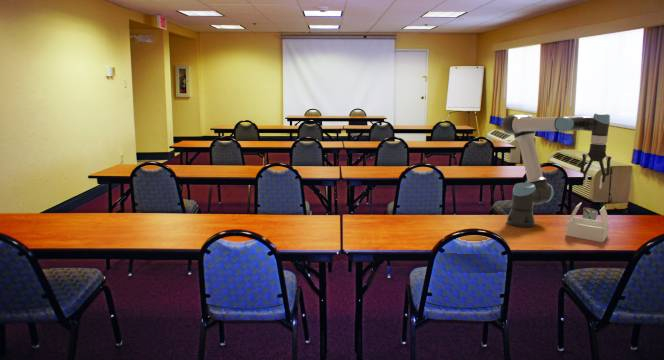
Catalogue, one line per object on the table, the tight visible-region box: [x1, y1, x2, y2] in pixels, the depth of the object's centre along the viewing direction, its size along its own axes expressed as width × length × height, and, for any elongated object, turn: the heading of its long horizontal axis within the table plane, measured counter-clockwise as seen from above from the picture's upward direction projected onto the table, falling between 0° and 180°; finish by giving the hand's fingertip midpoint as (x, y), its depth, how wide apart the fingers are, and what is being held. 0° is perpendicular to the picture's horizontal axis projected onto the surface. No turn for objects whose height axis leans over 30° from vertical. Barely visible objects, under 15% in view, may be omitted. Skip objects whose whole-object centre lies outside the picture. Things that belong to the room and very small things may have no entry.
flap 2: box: [599, 205, 610, 227], centre depth 268 cm, size 9×13×1 cm
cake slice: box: [582, 207, 599, 221], centre depth 290 cm, size 12×6×10 cm, turn 168°
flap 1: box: [567, 201, 582, 222], centre depth 276 cm, size 9×13×1 cm
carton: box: [565, 216, 610, 243], centre depth 273 cm, size 18×15×8 cm
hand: (592, 187), depth 269 cm, fingers open, 6 cm apart
